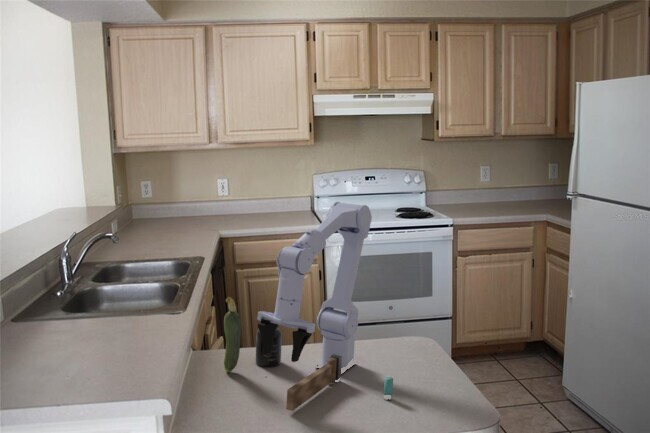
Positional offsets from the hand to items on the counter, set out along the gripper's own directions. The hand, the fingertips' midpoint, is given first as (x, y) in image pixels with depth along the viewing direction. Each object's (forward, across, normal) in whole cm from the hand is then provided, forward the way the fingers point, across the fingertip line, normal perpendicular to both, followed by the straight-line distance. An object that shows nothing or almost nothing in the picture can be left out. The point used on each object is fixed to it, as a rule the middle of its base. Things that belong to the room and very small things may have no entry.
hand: (280, 357), depth 135 cm
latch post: (+7, +22, +16) cm, 28 cm away
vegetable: (+10, -18, +6) cm, 21 cm away
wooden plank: (+8, +6, +6) cm, 12 cm away
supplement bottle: (+8, -14, +17) cm, 23 cm away
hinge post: (+7, +6, +18) cm, 20 cm away
